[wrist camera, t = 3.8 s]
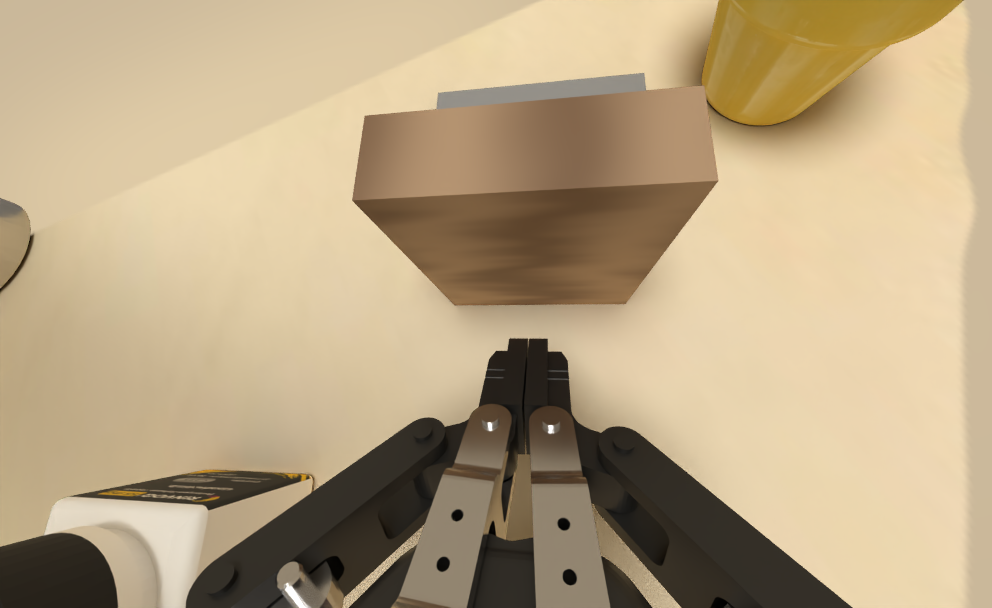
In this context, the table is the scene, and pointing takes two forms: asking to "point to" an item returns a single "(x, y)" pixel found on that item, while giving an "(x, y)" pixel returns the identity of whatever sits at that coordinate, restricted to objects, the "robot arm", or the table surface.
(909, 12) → the plant pot
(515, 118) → the walnut tile
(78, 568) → the medicine bottle
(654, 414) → the table surface
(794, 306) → the table surface
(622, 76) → the felt mat
